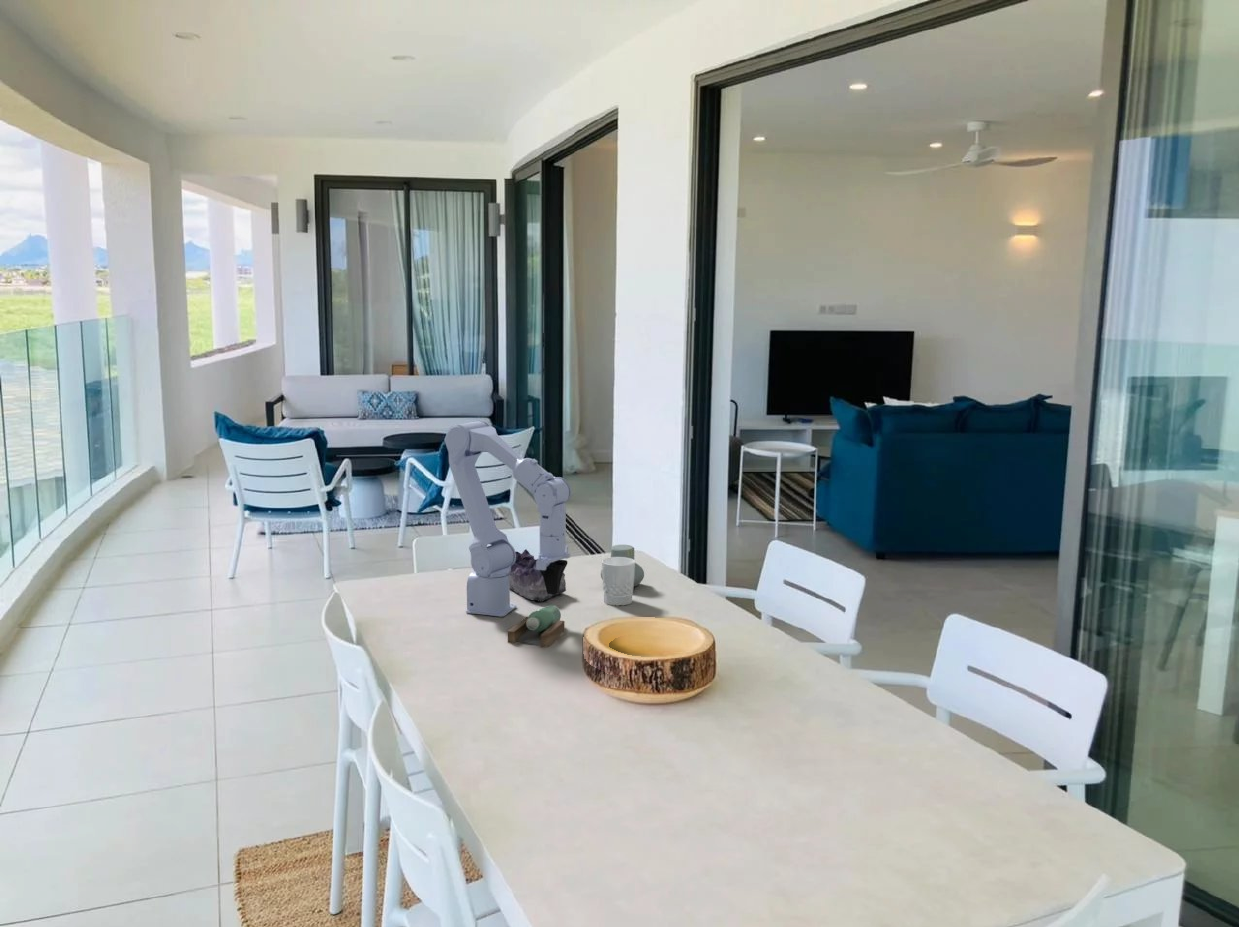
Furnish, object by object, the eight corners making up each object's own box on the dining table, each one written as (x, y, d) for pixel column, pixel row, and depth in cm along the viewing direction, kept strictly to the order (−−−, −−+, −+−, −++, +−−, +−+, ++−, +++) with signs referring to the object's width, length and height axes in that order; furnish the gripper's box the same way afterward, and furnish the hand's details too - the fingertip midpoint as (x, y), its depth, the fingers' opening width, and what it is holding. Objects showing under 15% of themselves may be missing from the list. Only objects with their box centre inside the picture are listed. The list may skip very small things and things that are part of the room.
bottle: (541, 623, 225) (521, 632, 213) (542, 604, 224) (523, 612, 213) (560, 626, 223) (541, 635, 212) (561, 606, 223) (542, 614, 212)
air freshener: (649, 585, 255) (649, 546, 253) (632, 593, 248) (632, 553, 246) (612, 578, 261) (613, 540, 259) (595, 586, 254) (595, 547, 252)
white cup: (634, 606, 237) (635, 565, 236) (601, 606, 237) (601, 565, 236) (634, 596, 245) (635, 556, 243) (602, 596, 245) (602, 556, 244)
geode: (487, 586, 253) (490, 547, 253) (526, 584, 260) (529, 546, 260) (531, 603, 237) (535, 561, 237) (571, 601, 244) (575, 560, 244)
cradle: (507, 642, 213) (507, 630, 212) (526, 627, 222) (526, 616, 222) (547, 647, 210) (547, 635, 210) (564, 631, 220) (564, 620, 219)
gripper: (557, 542, 214) (558, 604, 216) (580, 527, 227) (580, 586, 230) (526, 540, 216) (527, 601, 218) (551, 525, 229) (551, 583, 232)
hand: (552, 593), depth 224 cm, fingers closed
